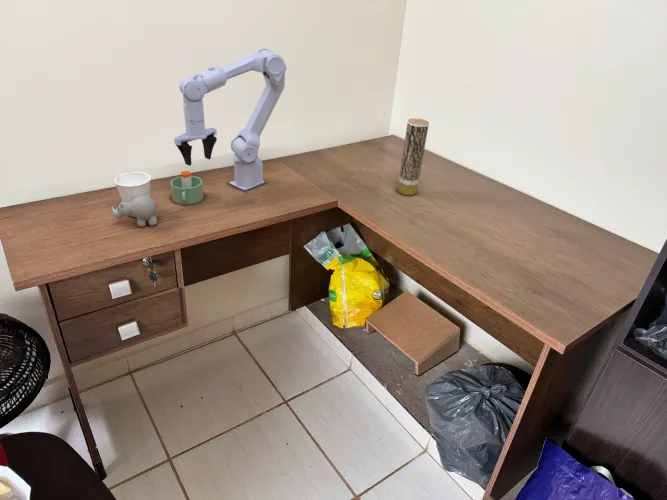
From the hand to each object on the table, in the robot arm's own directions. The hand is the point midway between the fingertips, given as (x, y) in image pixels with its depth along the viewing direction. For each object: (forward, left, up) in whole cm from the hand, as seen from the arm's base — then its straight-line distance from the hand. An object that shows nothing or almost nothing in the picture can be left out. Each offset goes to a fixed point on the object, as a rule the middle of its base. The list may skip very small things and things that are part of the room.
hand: (198, 161), depth 153 cm
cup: (+22, -1, -11) cm, 25 cm away
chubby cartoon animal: (+26, +4, -11) cm, 28 cm away
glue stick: (+6, +1, -10) cm, 11 cm away
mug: (+7, +2, -10) cm, 13 cm away
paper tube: (-50, +49, -11) cm, 71 cm away
